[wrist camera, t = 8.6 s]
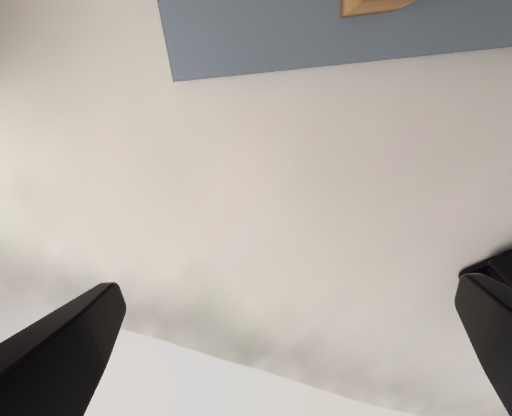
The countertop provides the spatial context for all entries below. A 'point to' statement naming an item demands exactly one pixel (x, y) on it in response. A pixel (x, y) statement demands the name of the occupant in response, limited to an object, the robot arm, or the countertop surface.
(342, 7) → the crossbar
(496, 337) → the robot arm
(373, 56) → the joint board
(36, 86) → the countertop surface
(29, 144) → the countertop surface
